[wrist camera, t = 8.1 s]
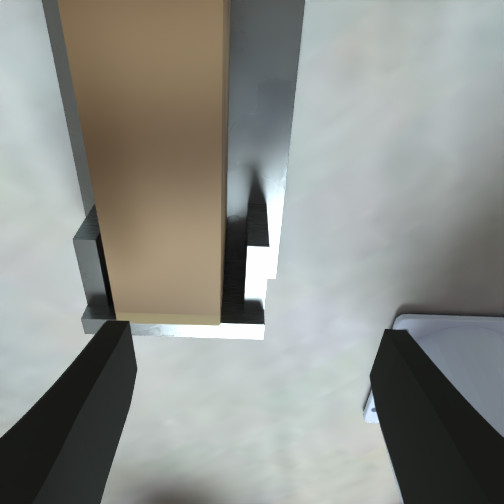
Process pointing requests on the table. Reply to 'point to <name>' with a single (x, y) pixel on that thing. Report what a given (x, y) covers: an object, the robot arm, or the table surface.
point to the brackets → (239, 168)
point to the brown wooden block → (156, 148)
